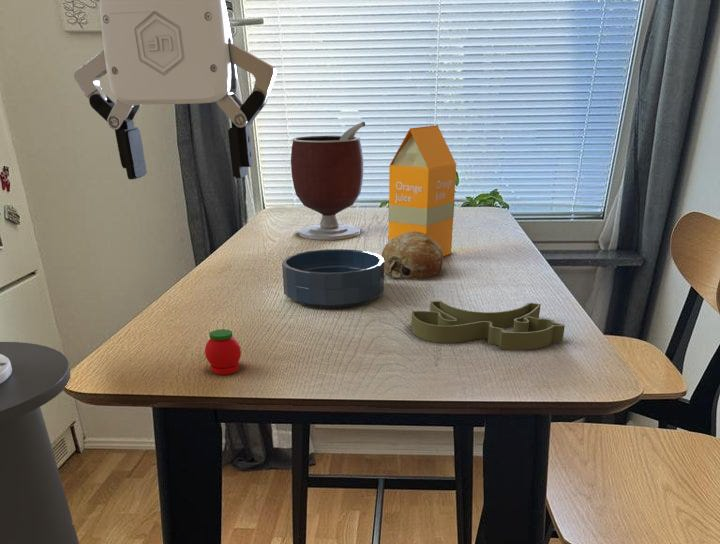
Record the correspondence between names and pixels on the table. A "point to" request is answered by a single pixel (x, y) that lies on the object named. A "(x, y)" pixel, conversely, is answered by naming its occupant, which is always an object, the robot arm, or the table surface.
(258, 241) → the table surface
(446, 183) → the orange juice
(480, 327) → the cookie cutter
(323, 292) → the bowl
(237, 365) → the red green jar
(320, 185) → the mate gourd
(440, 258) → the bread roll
